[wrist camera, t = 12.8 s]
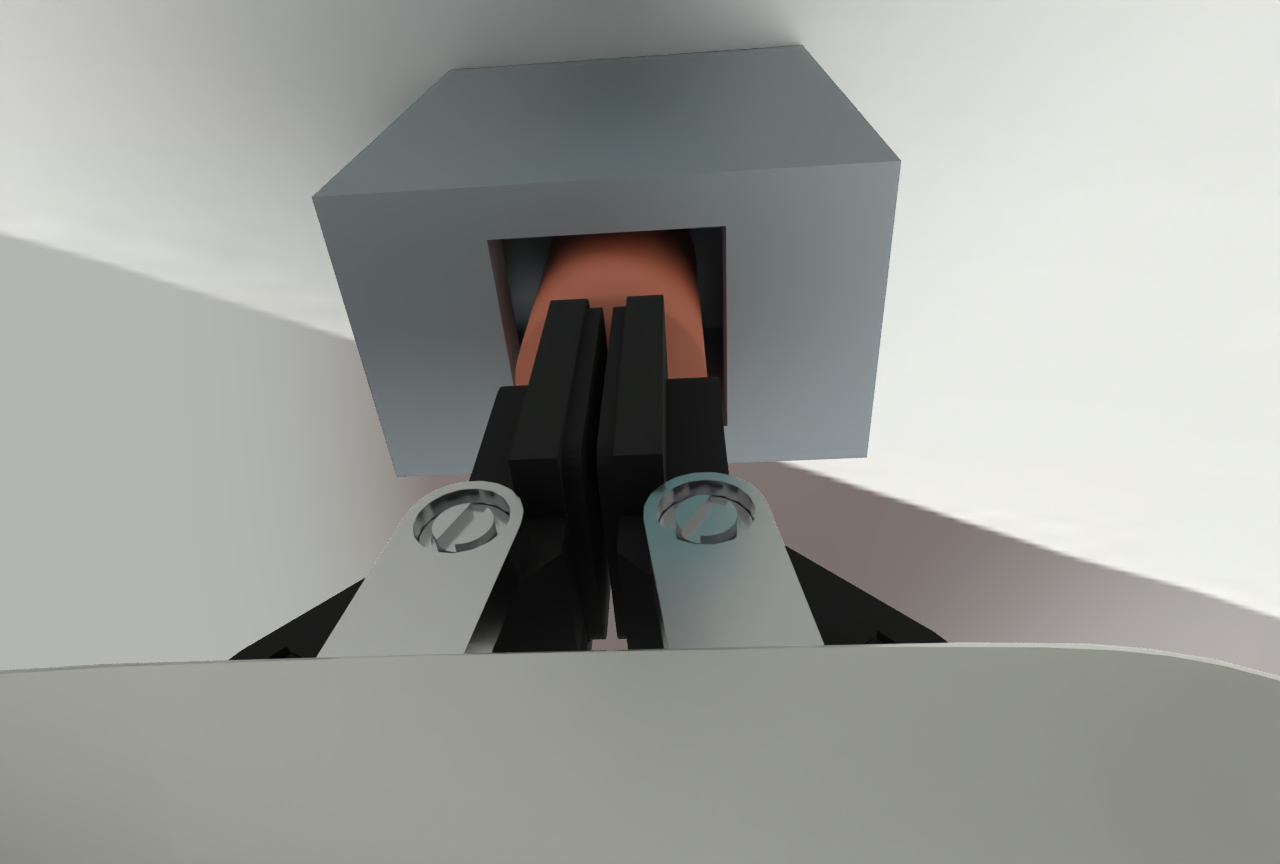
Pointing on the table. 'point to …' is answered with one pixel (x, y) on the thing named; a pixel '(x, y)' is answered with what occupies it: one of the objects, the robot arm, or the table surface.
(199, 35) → the table surface
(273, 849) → the robot arm
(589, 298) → the plunger
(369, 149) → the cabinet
